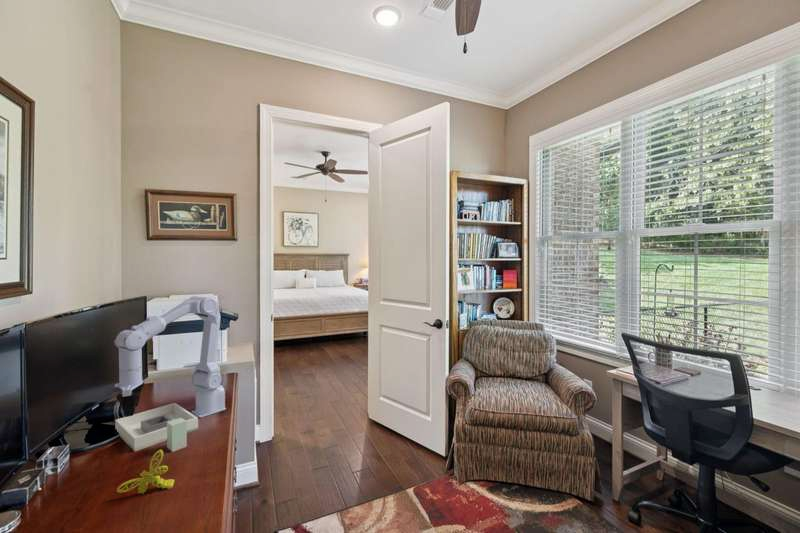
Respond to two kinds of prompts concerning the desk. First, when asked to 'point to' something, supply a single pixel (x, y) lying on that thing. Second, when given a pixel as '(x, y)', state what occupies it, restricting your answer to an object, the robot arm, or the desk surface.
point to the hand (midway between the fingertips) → (131, 411)
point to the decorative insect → (150, 477)
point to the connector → (176, 434)
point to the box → (152, 425)
